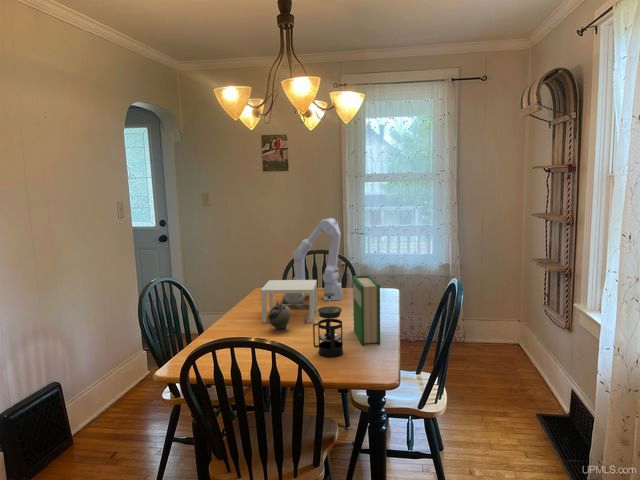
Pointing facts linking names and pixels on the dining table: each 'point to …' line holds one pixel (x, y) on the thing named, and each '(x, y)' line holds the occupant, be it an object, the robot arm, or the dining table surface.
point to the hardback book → (366, 309)
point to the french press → (329, 331)
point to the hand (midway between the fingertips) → (300, 293)
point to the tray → (297, 306)
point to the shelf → (289, 287)
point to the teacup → (294, 298)
